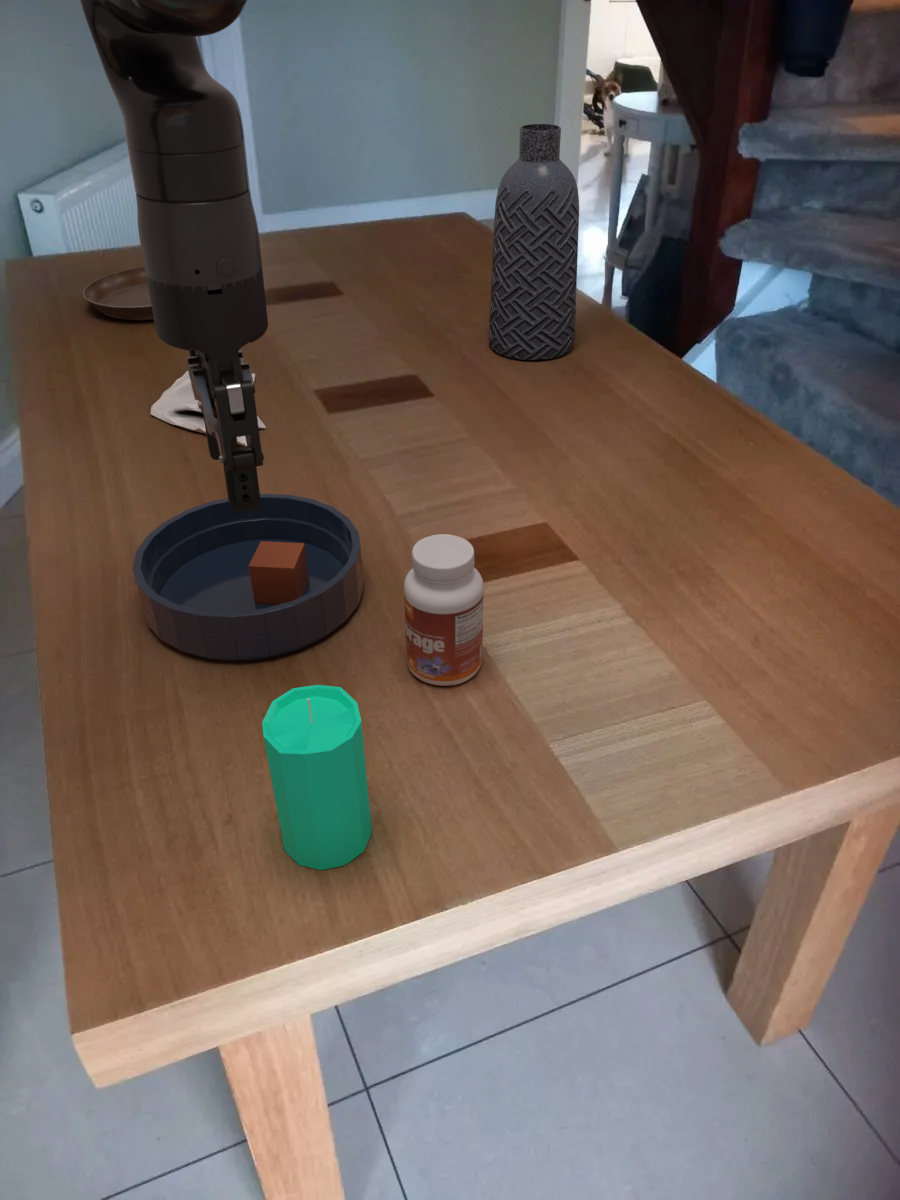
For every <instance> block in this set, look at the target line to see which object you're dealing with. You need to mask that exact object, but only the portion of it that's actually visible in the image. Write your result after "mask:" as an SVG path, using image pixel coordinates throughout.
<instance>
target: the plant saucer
mask: <svg viewBox="0 0 900 1200" xmlns="http://www.w3.org/2000/svg"><path fill="white" fill-rule="evenodd" d="M82 296H83V298H84V299H85V301H86V302H88V303H89V304H90V306H91V307H93V308H94V309H95V310H97V311H99V312H100V313H102V314H103V315H105V316H108V317H111V318H113V319H117V320H126V321H152V320H153V321H154V317H153V311H152V306H151V300H150V294H149V289H148V284H147V278H146V272H145V266H142V267H134V268H129V269H124V270H120V271H116V272H114V273H109V274H107V275H104V276H102V277H100V278H97V279H95V280H93V281H92V282H90V283H89V284H88V285H87V286H85V287H84V289H83V291H82Z"/></svg>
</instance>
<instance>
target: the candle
mask: <svg viewBox="0 0 900 1200" xmlns="http://www.w3.org/2000/svg"><path fill="white" fill-rule="evenodd" d="M264 715H265V716H264V717H263V719H262V722H261V723H262V724H261V725H262V734H263V740H264V746H265V753H266V757H267V762H268V763H267V764H268V767H269V774H270V777H271V778H270V780H271V784H272V791H273V795H274V801H275V806H276V811H277V817H278V823H279V828H280V833H281V839H282V844H283V845H282V846H283V851H284V852H285V853H286V854H287V855H288V856H289V857H290V858H291V859H292V860H293V861H294V862H295V863H296V864H297V865H298V866H302V867H306V868H310V869H315V870H318V871H324V870H329V869H334V868H339V867H343V866H344V867H345V866H346V865H348V864H350V862H352V861H353V860H355V859H356V858H358V856H360V855H362V854H363V853H364V852H365V850H366V848H367V845H368V844H369V841H370V839H371V837H372V834H373V828H372V818H371V808H370V807H371V806H370V797H369V796H370V795H369V787H368V786H369V785H368V776H367V767H366V754H365V753H366V752H365V744H364V734H363V733H364V731H363V723H362V717H361V713H360V709H359V705H358V702H357V701H356V700H355V699H354V698H353V697H352V695H350V694H349V693H348V692H347V691H346V690H345V689H343V688H342V687H340V686H334V685H323V684H314V685H307V686H299V687H293V688H291V689H290V690H288V691H286V692H284V694H282V695H280V696H278V697H277V698H275V699H274V700H272V701H271V703H270V705H269V707H268V709H267V711H266V713H265V714H264Z"/></svg>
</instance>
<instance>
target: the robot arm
mask: <svg viewBox="0 0 900 1200" xmlns="http://www.w3.org/2000/svg"><path fill="white" fill-rule="evenodd" d="M79 1H80V6H81V9H82V12H83V15H84V18H85V21H86V24H87V28H88V29H89V32H90V35H91V38H92V41H93V43H94V46H95V49H96V52H97V54H98V57H99V60H100V63H101V65H102V68H103V71H104V74H105V76H106V79H107V81H108V84H109V86H110V88H111V91H112V93H113V95H114V97H115V100H116V102H117V105H118V107H119V110H120V112H121V115H122V119H123V123H124V124H123V125H124V130H125V131H124V132H125V139H126V145H127V152H128V157H129V158H128V159H129V164H130V169H131V175H132V180H133V186H134V192H135V199H136V210H137V211H136V213H137V215H136V216H137V229H138V237H139V243H140V250H141V256H142V260H143V265H144V266H143V267H145V272H146V278H147V284H148V289H149V294H150V300H151V306H152V311H153V317H154V320H153V322H154V327H155V332H156V335H157V337H158V338H159V339H160V340H161V341H162V342H163V343H165V344H166V345H168V346H170V347H172V348H175V349H179V350H184V351H188V354H189V356H186V357H185V363H186V365H185V366H186V369H187V371H188V373H189V377H190V380H191V385H192V390H193V394H194V398H195V400H198V401H199V402H198V408H199V409H201V413H204V414H203V416H204V423H205V429H206V434H205V435H206V440H207V447H208V453H209V456H210V457H211V458H210V459H212V460H215V461H219V463H220V464H222V467H223V473H224V475H223V476H224V480H225V488H226V495H227V498H228V502H229V505H230V508H231V510H232V511H234V512H241V511H247V510H252V509H257V508H258V507H259V506H260V504H261V499H260V494H261V492H260V484H259V476H258V468H257V467H262V466H264V461H265V456H264V452H263V450H262V444H261V437H260V428H259V427H258V418H257V416H258V412H257V406H256V397H255V393H256V387H255V385H254V383H253V378H252V369H251V366H250V363H249V362H248V363H247V362H245V357H244V352H243V350H241V349H242V348H243V347H244V346H246V345H248V344H249V343H250V344H251V343H252V344H253V343H254V342H256V341H258V340H260V339H261V338H262V337H264V335H265V334H266V332H267V330H268V327H269V318H268V309H267V301H266V300H267V299H266V291H265V281H264V272H263V271H264V270H263V262H262V252H261V243H260V232H259V226H258V225H259V224H258V220H257V216H256V212H255V207H254V204H253V199H252V193H251V188H250V187H251V185H250V178H249V177H250V176H249V168H248V160H247V149H246V141H245V131H244V124H243V117H242V114H241V113H242V112H241V109H240V105H239V103H238V100H237V99H236V97H235V96H234V94H233V93H232V92H231V91H230V90H229V89H228V88H227V87H225V86H224V85H222V84H221V83H220V82H218V81H217V80H215V79H214V78H213V76H211V75H210V73H209V72H208V70H207V68H206V66H205V63H204V60H203V57H202V53H201V49H200V46H199V43H198V39H197V38H198V37H199V38H200V37H207V36H209V35H215V34H217V33H220V32H221V31H223V30H225V29H227V28H228V27H229V26H231V25H232V24H233V23H235V21H237V19H238V18H239V17H240V16H241V14H242V13H243V11H244V10H245V7H246V6H247V4H248V1H249V0H79ZM252 384H253V385H252ZM241 436H245V438H246V443H247V446H240V447H239V446H238V445H239V444H237V437H241Z"/></svg>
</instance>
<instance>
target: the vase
mask: <svg viewBox="0 0 900 1200" xmlns="http://www.w3.org/2000/svg"><path fill="white" fill-rule="evenodd" d="M561 138H562V127H561V126H560V125H556V124H550V123H530V124H524V125H522V126H520V128H519V146H518V147H519V148H518V159H516V161H515V162H514V163H512V164H511V166H509V168H507V170H506V171H505V172H504V173H503V174H502V175H503V176H502V177H501V179H500V182H499V185H498V188H497V193H496V198H495V204H494V205H495V206H494V219H493V220H494V222H493V223H494V224H493V242H492V259H491V281H490V297H489V298H490V300H489V301H490V302H489V320H488V342H489V346H490V348H491V349H492V351H494V352H495V353H497V354H499V355H501V356H503V357H505V358H506V357H507V358H510V359H516V360H522V361H523V360H524V361H540V360H542V361H543V360H549V359H550V360H551V359H555V358H558V357H561V356H564V355H566V354H567V353H569V352H570V351H571V350H572V349H573V346H574V343H575V337H576V336H575V335H576V316H577V315H576V312H577V287H578V286H577V285H578V284H577V283H578V256H579V227H580V226H579V225H580V195H579V189H578V184H577V180H576V177H575V176H574V174H573V172H572V171H571V169H570V168H569V167H568V166H567V165H566V164H565V163H564V162H563V161H562V159H561V158H560V156H561Z"/></svg>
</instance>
